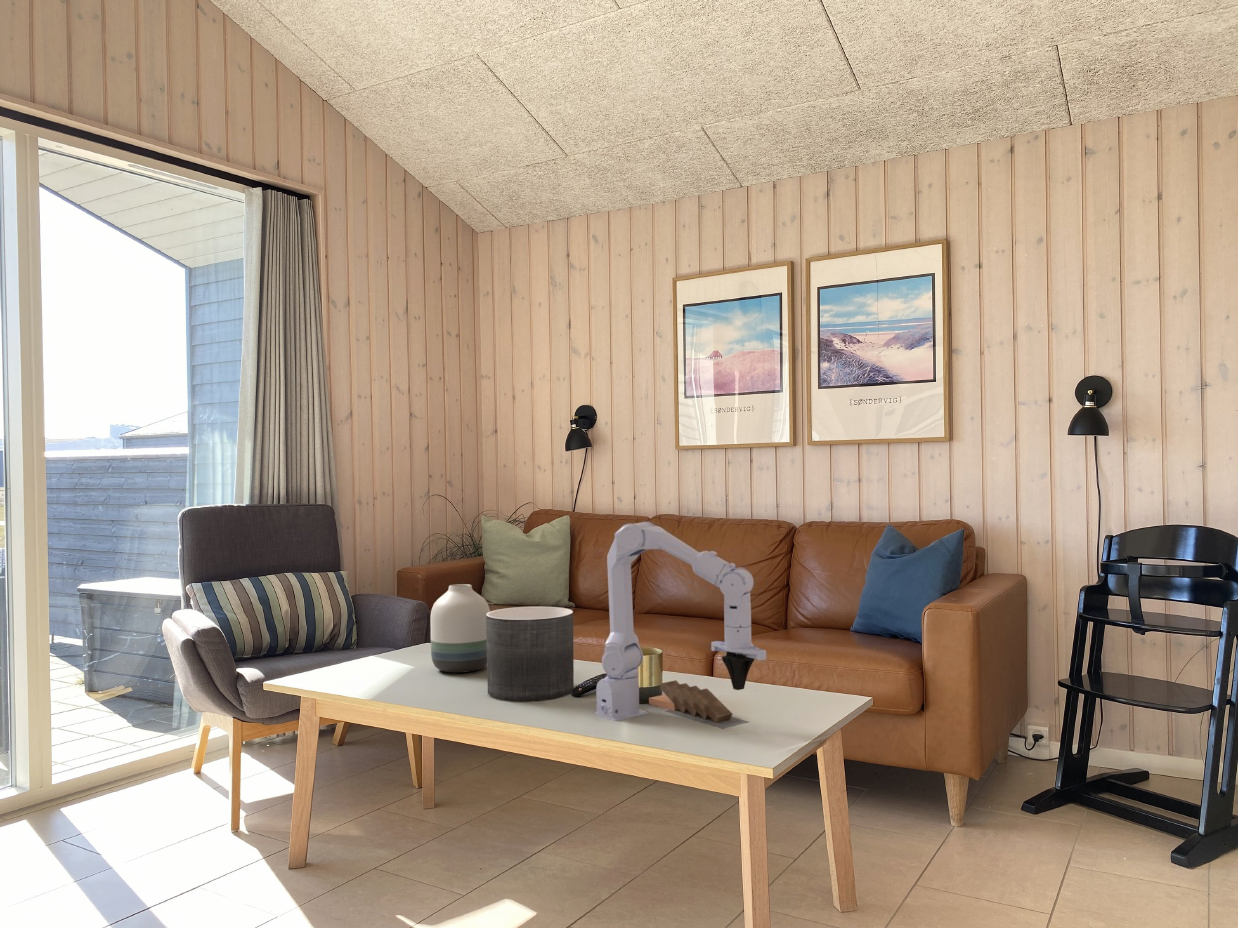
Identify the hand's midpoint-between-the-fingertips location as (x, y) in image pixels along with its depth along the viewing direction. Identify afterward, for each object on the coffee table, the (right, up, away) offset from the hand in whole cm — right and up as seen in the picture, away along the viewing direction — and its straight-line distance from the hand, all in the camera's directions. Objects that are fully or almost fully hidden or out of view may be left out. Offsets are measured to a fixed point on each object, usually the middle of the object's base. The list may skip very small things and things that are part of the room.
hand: (738, 688), depth 190 cm
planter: (-48, -10, +36) cm, 61 cm away
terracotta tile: (-11, -8, +15) cm, 20 cm away
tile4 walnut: (-9, -8, +12) cm, 17 cm away
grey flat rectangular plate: (-6, -9, +8) cm, 13 cm away
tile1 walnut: (-3, -7, +4) cm, 9 cm away
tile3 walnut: (-7, -8, +9) cm, 14 cm away
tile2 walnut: (-5, -7, +6) cm, 11 cm away
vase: (-71, -11, +63) cm, 96 cm away
